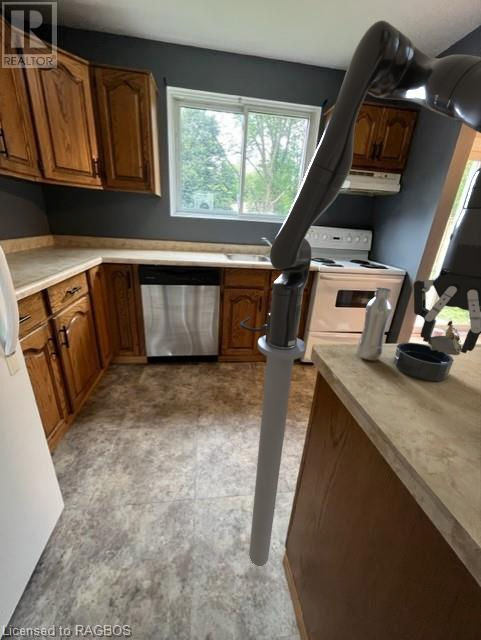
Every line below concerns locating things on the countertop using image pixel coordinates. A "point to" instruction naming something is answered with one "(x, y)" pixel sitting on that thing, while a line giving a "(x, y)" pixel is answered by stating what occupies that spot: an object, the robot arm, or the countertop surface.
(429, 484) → the countertop surface
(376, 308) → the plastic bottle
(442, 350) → the figurine
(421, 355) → the pan
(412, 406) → the countertop surface
